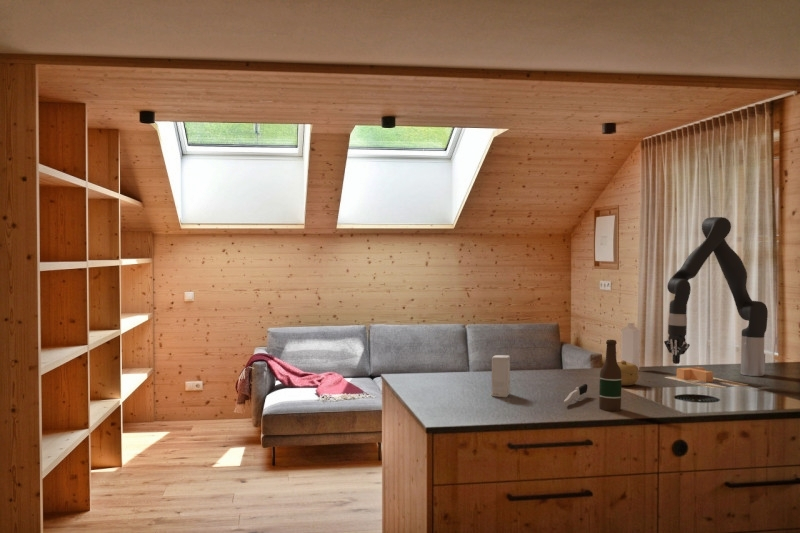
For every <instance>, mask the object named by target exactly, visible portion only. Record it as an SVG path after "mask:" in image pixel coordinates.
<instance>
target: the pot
mask: <svg viewBox="0 0 800 533" xmlns="http://www.w3.org/2000/svg"><path fill="white" fill-rule="evenodd" d="M617 364H618V366H619V367H620V370H621V377H622V380H621V386H624V387H625V386H632V385H635V383H636V382H637V381H638V380H639V375H638V372H639V371H638V367H637V366H636V365H635V364H632V363H626V361H624V360H623V361H621V360H620V361H619V362H618V361H617Z"/></svg>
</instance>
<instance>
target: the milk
mask: <svg viewBox="0 0 800 533" xmlns="http://www.w3.org/2000/svg"><path fill="white" fill-rule="evenodd" d="M620 341H621V344H620V345H621V347H620V348H621V349H620V352H621V354H620V355H621V356H620V362H621V361H623V360H624V361H626V363H632V364H635V365H636V366H637V367H638V372H639V371H640V357H641V356H640V349H641V347H640V346H641V329H640V328H638V327H637V326H636V325H635V322H627V326H626V327H624V328H622V329H621V340H620Z"/></svg>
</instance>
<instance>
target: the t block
mask: <svg viewBox="0 0 800 533" xmlns="http://www.w3.org/2000/svg"><path fill="white" fill-rule="evenodd" d="M676 376H677V377H676V378H679V379H694V380H698V381H703V382H713V378H714V371H710V370H706V368H705V367H701V366H700V367H699V366H694V367H692V366H691V367H681V368H679V367H678V368H676Z"/></svg>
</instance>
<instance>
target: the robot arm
mask: <svg viewBox="0 0 800 533" xmlns="http://www.w3.org/2000/svg"><path fill="white" fill-rule="evenodd" d="M731 223H732V222H731V221H730V220H729V219H728V218H726V217H725V216H724V217H723V216H712V217H706V218H705V219H704V220H703V221H702V223H701V230H702V234H703V235H704V237H705V239H704V241H702V242H701V244H700V245H699V246H698V247H696V248H695V249H694V250H693V251H692V252H691V253H690V254H689V255H688V256H687V257H686V259H685V261H684V262H683V264H682V266H681V267H680V269H678V270H677V271H676V272H675V273H674V274H673V275H672V276H671V278H670V279H669V280H668V283H667V290H668V292H669V293H670V294H672V295H674V298H673V300H670V302H669V312H668V313H669V314H668V320H667V322H668V323H667V324H668V325H667V333H668V338H667V339H666V340H664V341H663V343H664V345H665V347H666V348H667V352H668V353H669V354H671V355H672V364H673V365H674V364H676V365H678V364H680V362H681V356H682V355H684V354H685V353H686V352H687V350H688V349H689V347H690V343H688V342H687V341H686V336H687V329H688V328H687V327H688V326H687V324H688V321H687V319H688V317H687V307H688V306H687V305H688V302H689V300H690V299H689V298H690V296H691V295H690V294H691V284H690V282H689V280H691V279H693V278H696V276H697V275H698V273H699V272H700V270H701V268H702V267H703V265H704V264H705V263H706V261H707V260H708V259H709V257H710V256H711V255H712V253H713V254H714V256H715V259H716V260H717V262H718V264H719V267H720V270H721V273H722V275H723V277H724V279H725V280H726V283H727V285H728V288H729V290H730V292H731V295H732V297H733V301H734V305H735V308H736V310H737V313H738V315H739V316H740V318H741V319H742V320H745V321H748V325H747V326H746V327H745V328H743V329H742V330H741V339H740V340H741V341H740V342H741V344H740V346H741V347H740V348H741V349H740V374H741V375H743V376H749V377H763V376H765V375H766V353H765V333H766V332H767V328H768V318H769V317H768V316H769V315H768V314H769V313H768V312H769V311H768V307H767V305H766V304H765V303H764V302H762V301H759V300H758V301H757V300H752V299H751V296H750V294H749V292H748V289H747V282H748V281H747V280H748V272H747V269H746V267H745V265H744V263H743V260H742V258H741V257H740V256H739V254H737V253H736V251H735V250H733V249H732V247H731V246H730V245H729V244H728V242H727V241H726V237H727V236H728V235H729V234H730V232H731V228H732V224H731Z"/></svg>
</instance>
